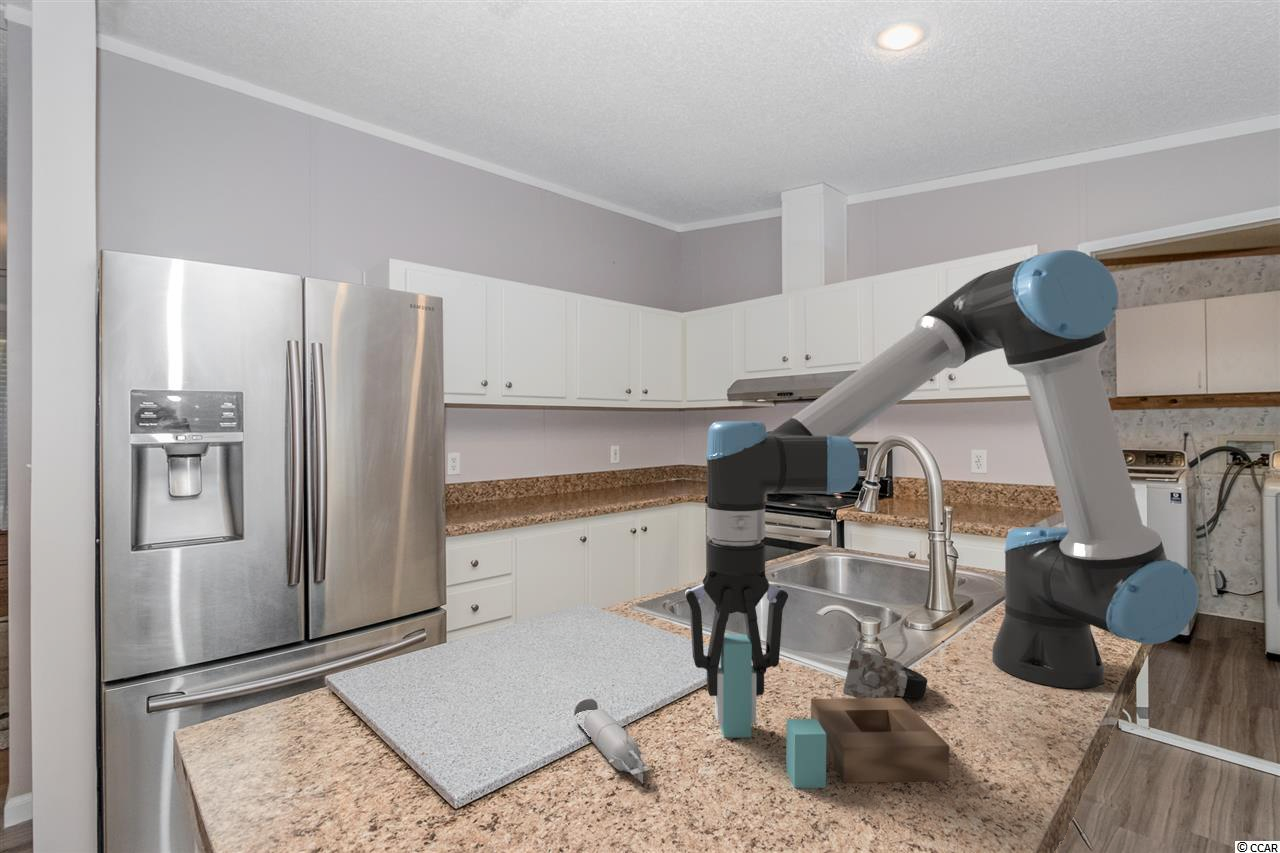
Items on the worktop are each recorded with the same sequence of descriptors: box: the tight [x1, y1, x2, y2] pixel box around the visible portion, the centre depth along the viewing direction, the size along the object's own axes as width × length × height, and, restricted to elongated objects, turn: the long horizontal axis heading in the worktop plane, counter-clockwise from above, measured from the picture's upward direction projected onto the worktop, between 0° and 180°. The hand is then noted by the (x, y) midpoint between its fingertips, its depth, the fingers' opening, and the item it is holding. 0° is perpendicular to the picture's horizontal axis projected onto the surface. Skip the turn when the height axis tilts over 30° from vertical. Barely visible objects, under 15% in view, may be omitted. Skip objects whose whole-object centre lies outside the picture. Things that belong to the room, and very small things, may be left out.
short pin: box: [785, 718, 827, 789], centre depth 72 cm, size 4×4×6 cm
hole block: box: [810, 697, 950, 784], centre depth 77 cm, size 12×12×4 cm
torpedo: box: [573, 697, 651, 784], centre depth 78 cm, size 18×5×7 cm, turn 28°
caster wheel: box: [842, 647, 928, 699], centre depth 94 cm, size 7×11×10 cm
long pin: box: [719, 634, 753, 739], centre depth 82 cm, size 4×4×12 cm
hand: (735, 718), depth 82 cm, fingers closed on long pin, 3 cm apart
